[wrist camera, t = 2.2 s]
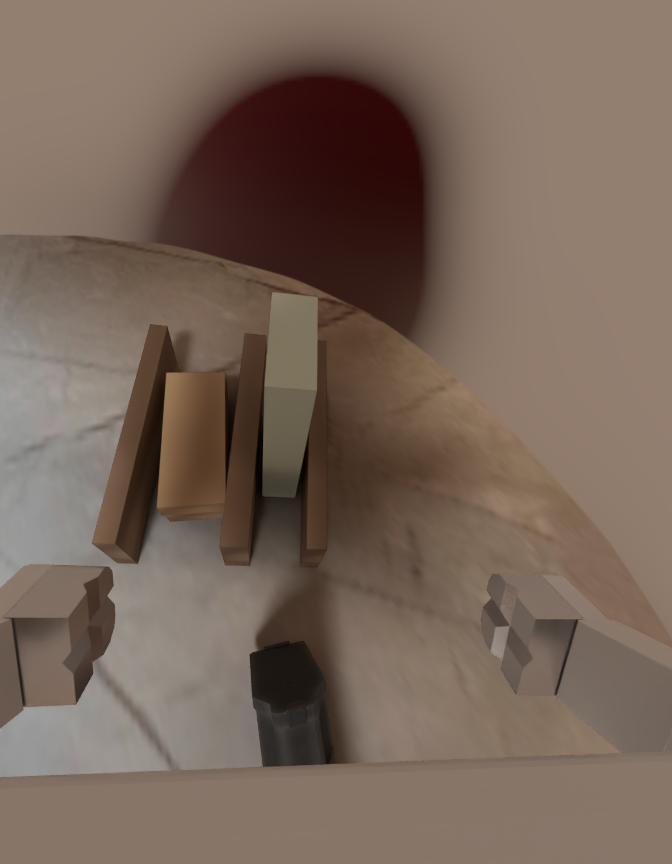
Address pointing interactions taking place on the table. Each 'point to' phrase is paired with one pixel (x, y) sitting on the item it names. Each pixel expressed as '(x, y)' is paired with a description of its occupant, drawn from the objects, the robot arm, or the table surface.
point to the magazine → (290, 706)
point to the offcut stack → (194, 446)
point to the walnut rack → (142, 451)
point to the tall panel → (288, 390)
